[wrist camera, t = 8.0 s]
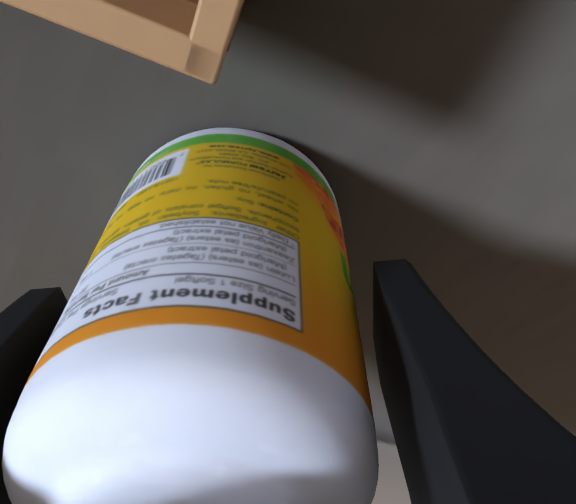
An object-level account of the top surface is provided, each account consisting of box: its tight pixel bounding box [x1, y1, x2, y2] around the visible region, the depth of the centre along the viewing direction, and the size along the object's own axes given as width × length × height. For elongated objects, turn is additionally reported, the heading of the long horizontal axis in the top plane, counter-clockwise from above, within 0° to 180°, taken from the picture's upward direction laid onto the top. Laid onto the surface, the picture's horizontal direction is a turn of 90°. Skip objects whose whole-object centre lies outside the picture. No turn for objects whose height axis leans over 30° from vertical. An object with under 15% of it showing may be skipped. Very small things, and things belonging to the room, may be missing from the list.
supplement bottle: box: [2, 128, 379, 504], centre depth 9 cm, size 5×5×10 cm
